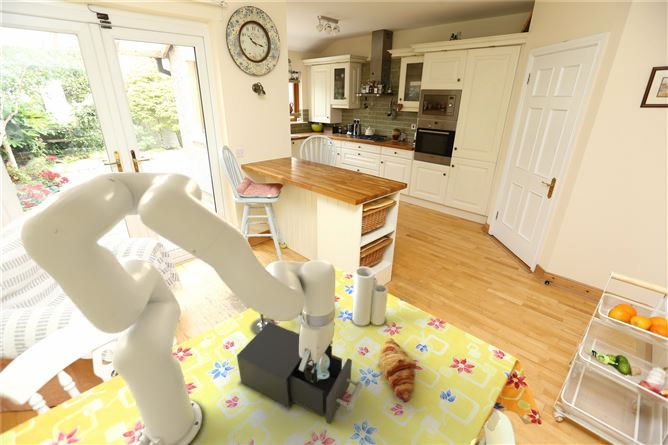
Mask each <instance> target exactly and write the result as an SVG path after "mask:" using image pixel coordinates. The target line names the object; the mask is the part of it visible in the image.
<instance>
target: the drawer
mask: <svg viewBox="0 0 668 445" xmlns="http://www.w3.org/2000/svg"><path fill="white" fill-rule="evenodd" d="M329 360H330V364H329V367H328V369H327V370H328V371H329V377H328V378H326V379H319V380H318V381H317V382H316V383H315V382H311V381H309V380H307V379H306V378H305V372H302V371H300V370H299V366H300V364H301V362H300V363H299V364H298V366H297V367H296V369H295V370H294V372H293V373H292V374H291V376H290V377H289V379H288V381H289V395H290V400H291V401H293V402H292V403H296V404H298V405H299V406H301V407H302V408H305V409H307V410H309V411H311V412H313V413H315V414H317V415H319V416H321V417H324V415H326V416H325V417H326V418H325V422H326V424H329V425H332V423H333V421H334V419H335V417H336V415H337V412H338V410H339V408H340V406H341V405H342V406H345V407H346V408H347V410H349V411H353V410H354V408H355V405H356V402H357V401H358V398H359V396H360V393H361V391H362V389H363V386H364V384H363V382H361V381H355V380H353V379H352V364H353V359H352V358H349V357H348V358H346V361H345V362H344V364H343V358H341V357H339V356H336V355H334V354H332V357H331V358H329ZM301 361H302V360H301ZM309 362H310V360H309ZM309 362H308V364H309ZM325 363H326V362H325ZM324 377H325V375H324ZM350 385H354V386H355V387H354V389H353V392H352V394H351V396H350V398H349V400H348V402H347V401H344V400H343V399H344V398H345V395H346V394H347V392H348V389H349V387H350ZM325 413H326V414H325Z"/></svg>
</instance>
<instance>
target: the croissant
mask: <svg viewBox="0 0 668 445" xmlns="http://www.w3.org/2000/svg"><path fill="white" fill-rule="evenodd" d="M378 366H379V369H380V370H381V372H382V376H383V378H384V380H385V381H386V383H387V384H388V386H389V387H390V388H391V390H392V392H393V393H394V395H395V396H396V397H397V398H398V399H399V400H400V401H401V402H403V403H404V404H407V403H409V402H410V400H411V394H412V393H413V392H414V387H415V386H414V384H415V383H414V381H415V379H416V378H415V377H416V373H415V369H416V368H417V364H416V362H415V360H414V359H413V358H411V357H410V356H409V355H408V353H407V352H406V351H405V350H404V349H402V348H401V346H400V344H398V343H397V342H396V341H395V340H394V339H393V338H392V337H389V338H388V339H387V340H386V341H385V342H384V344H383V347H382V349H381V351H380V360H379V363H378Z"/></svg>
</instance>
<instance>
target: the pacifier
mask: <svg viewBox="0 0 668 445" xmlns="http://www.w3.org/2000/svg"><path fill="white" fill-rule="evenodd" d="M325 362H326V363H325ZM329 364H330V360H329V357H328V356H327V355H326V354H325V353H324V354H323V355H322V357H321V358H320V360H319V361H318V362H317V365H316V369H317V381H318V380H319V379H326V378H328V377H329V371H328V370H327V369H328V367H329ZM309 365H311V366H312V365H313V362H312V361H310V362H309ZM324 375H325V377H324ZM311 382H313V381H311Z"/></svg>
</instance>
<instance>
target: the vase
mask: <svg viewBox="0 0 668 445" xmlns="http://www.w3.org/2000/svg"><path fill="white" fill-rule="evenodd" d="M353 279H354V280H353V281H354V282H353V299H352V301H353V302H352V318H351V319H352V321H353V323H354V324H355V325H357V326H361V327H364V326H367V325H369V324H370V323H371V324H373V325H375V326H381V325H384V324H385V322H386V321H385V320H386V311H387V302H388V294H389V287H387V285H384V284H378V279H379V278H378V277H377V276H375V270H374V269H373V268H371V267H369V266H366V265H365V266H363V265H362V266H359V267H356V268H355V269H354V278H353Z"/></svg>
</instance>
